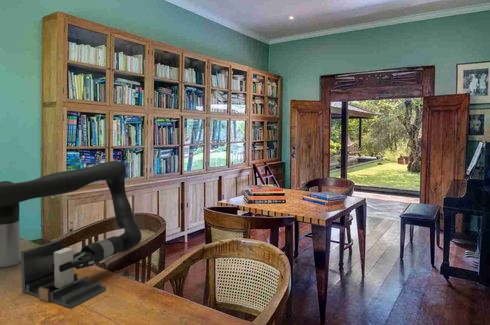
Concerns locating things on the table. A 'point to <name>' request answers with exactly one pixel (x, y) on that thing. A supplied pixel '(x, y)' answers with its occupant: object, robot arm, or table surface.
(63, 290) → the rack
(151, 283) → the table surface
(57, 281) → the light grey block
